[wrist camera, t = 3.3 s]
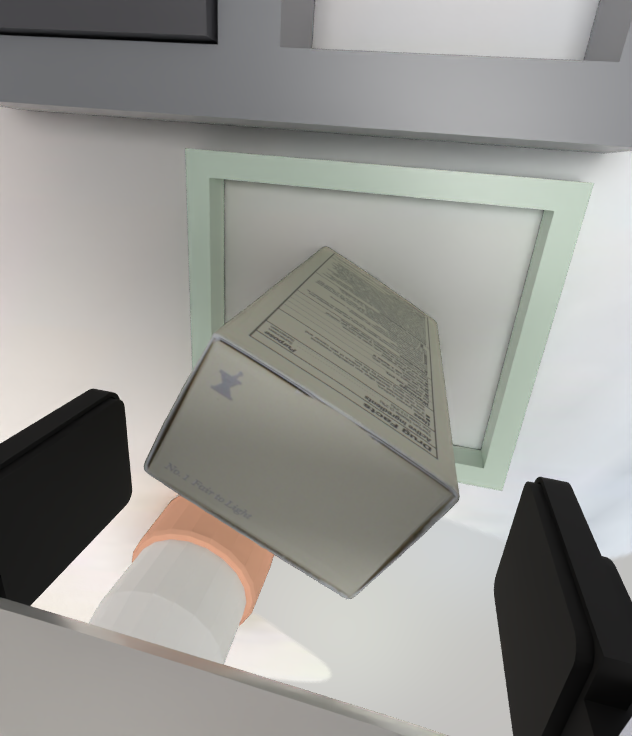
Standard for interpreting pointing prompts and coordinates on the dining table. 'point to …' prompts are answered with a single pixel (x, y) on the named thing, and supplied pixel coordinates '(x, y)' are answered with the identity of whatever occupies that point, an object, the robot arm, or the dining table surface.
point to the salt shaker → (187, 584)
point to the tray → (552, 196)
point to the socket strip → (307, 75)
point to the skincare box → (318, 425)
